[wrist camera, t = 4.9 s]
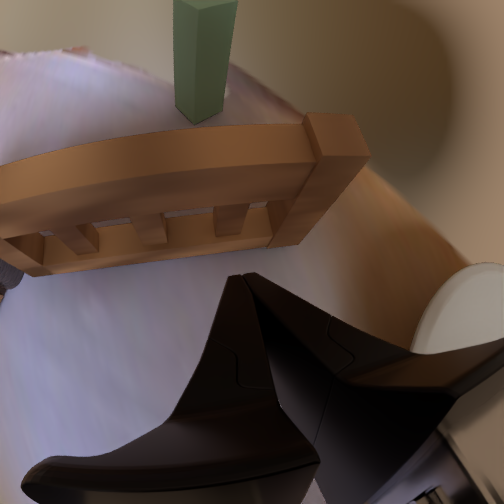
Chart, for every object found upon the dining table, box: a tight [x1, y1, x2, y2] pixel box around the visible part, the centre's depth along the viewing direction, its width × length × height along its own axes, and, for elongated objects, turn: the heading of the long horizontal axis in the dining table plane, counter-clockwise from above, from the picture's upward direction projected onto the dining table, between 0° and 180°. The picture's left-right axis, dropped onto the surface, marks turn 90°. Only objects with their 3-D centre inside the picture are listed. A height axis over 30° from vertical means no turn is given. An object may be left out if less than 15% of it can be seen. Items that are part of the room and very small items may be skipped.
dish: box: [410, 262, 504, 354], centre depth 14 cm, size 18×14×5 cm
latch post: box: [173, 0, 238, 125], centre depth 16 cm, size 2×2×9 cm
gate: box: [0, 112, 371, 277], centre depth 12 cm, size 15×2×8 cm, turn 101°
